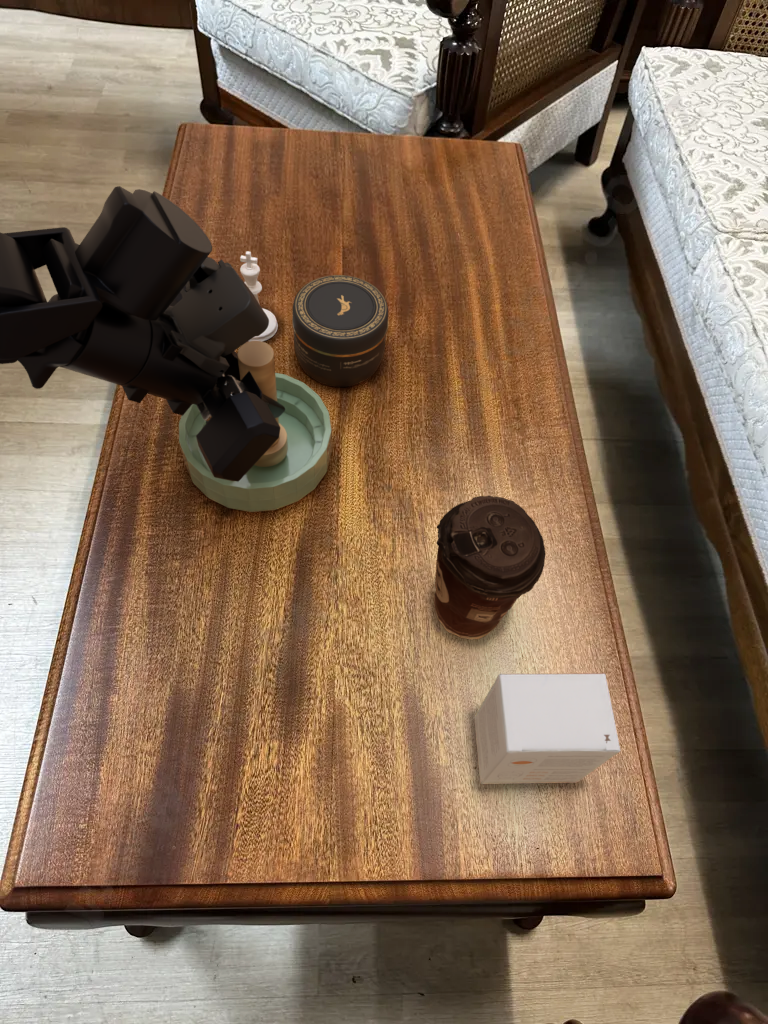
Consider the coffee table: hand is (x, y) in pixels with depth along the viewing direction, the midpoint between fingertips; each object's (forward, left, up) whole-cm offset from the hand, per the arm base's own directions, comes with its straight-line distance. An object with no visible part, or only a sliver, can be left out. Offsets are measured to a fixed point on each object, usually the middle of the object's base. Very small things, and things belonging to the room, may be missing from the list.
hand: (274, 399), depth 65 cm
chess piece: (-12, +14, -8) cm, 20 cm away
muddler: (-1, -1, -7) cm, 7 cm away
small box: (+33, -15, -8) cm, 37 cm away
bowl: (-2, -1, -8) cm, 8 cm away
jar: (-1, +15, -8) cm, 17 cm away
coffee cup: (+23, -6, -8) cm, 26 cm away
